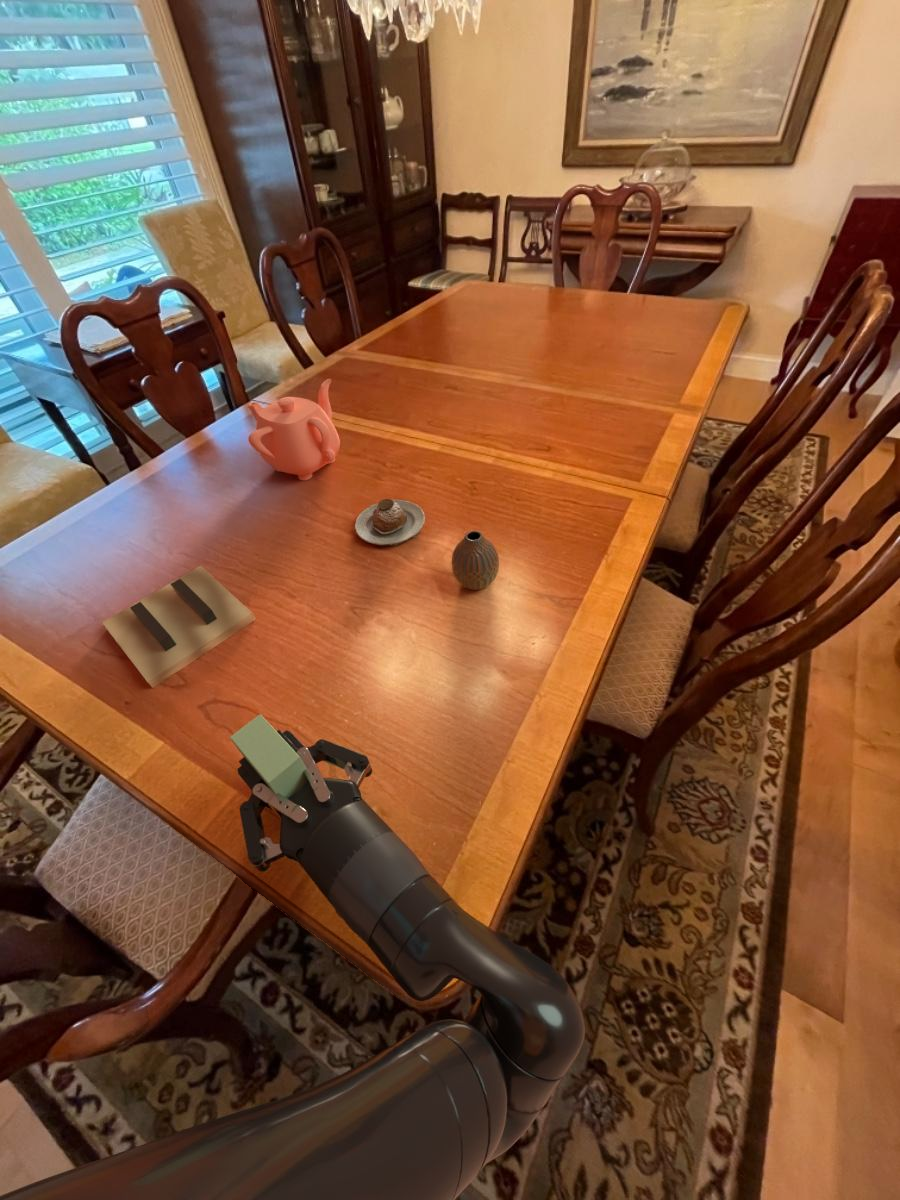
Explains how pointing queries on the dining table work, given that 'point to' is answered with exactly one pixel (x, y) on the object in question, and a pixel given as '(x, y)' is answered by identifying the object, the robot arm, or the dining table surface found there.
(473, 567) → the vase
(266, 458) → the teapot
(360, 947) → the dining table surface
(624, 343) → the dining table surface
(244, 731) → the green rectangular block
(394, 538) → the pastry
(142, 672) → the seat base
